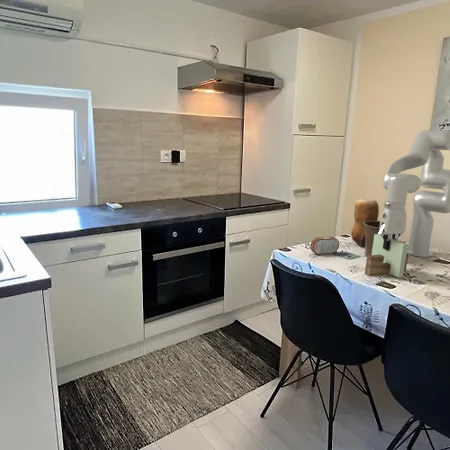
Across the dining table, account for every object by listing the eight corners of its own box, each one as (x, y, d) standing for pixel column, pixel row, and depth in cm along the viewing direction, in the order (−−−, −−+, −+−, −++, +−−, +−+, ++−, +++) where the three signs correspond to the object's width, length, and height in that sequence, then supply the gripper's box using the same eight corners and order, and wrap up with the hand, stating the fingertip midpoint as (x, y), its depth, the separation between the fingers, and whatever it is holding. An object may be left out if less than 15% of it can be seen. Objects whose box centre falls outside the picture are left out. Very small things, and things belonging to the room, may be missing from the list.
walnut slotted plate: (364, 273, 156) (367, 255, 154) (401, 269, 163) (403, 251, 161) (368, 275, 153) (371, 257, 151) (405, 271, 160) (408, 253, 158)
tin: (335, 251, 185) (337, 235, 183) (339, 253, 182) (341, 237, 180) (309, 253, 180) (310, 237, 178) (312, 255, 178) (314, 238, 176)
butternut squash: (361, 240, 206) (367, 196, 201) (382, 247, 195) (388, 200, 189) (344, 243, 199) (349, 197, 194) (364, 250, 188) (370, 202, 182)
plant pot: (371, 262, 170) (375, 228, 166) (353, 251, 186) (357, 220, 182) (403, 261, 173) (408, 228, 169) (383, 251, 188) (387, 220, 184)
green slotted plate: (370, 264, 165) (374, 234, 161) (374, 264, 165) (378, 233, 162) (398, 277, 150) (403, 244, 147) (402, 277, 151) (407, 244, 148)
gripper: (386, 208, 145) (380, 253, 149) (417, 206, 151) (410, 250, 155) (372, 205, 152) (367, 248, 156) (402, 203, 157) (396, 245, 162)
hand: (388, 248), depth 156 cm, fingers closed on green slotted plate, 2 cm apart
